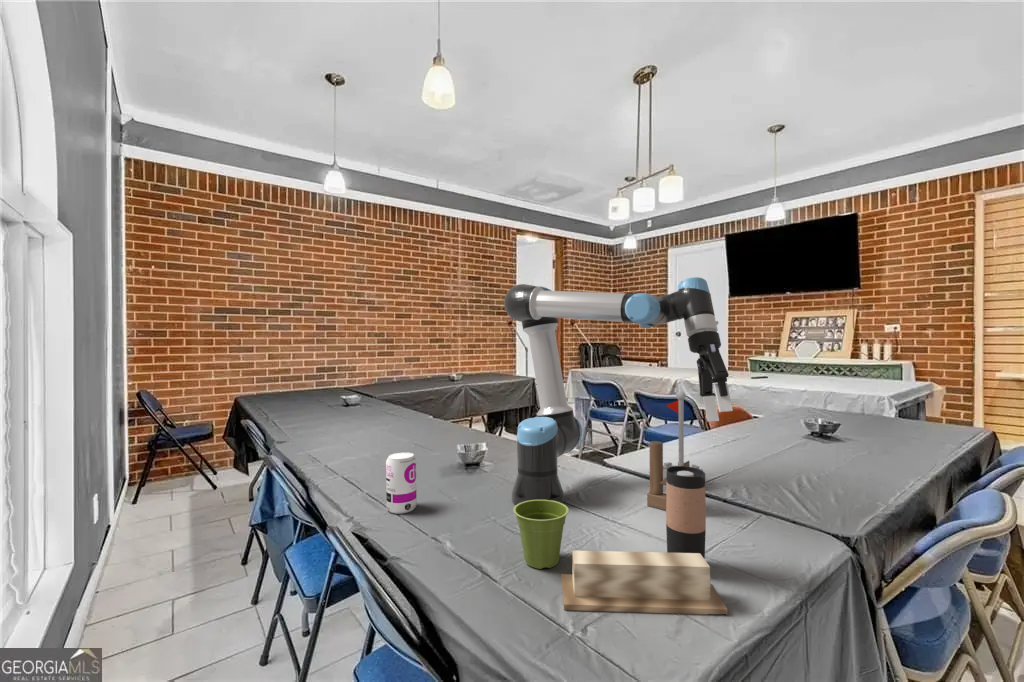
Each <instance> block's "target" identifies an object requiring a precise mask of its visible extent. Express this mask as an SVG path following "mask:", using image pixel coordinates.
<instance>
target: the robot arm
mask: <svg viewBox="0 0 1024 682" xmlns="http://www.w3.org/2000/svg"><path fill="white" fill-rule="evenodd" d="M503 304H504V305H503V306H504V309H505V312H506V313H507V315H508V316H509V317H510V318H511V319H512V320H515V321H517V322H521V327H522V331H523V332H524V333H525V334H527V335H528V340H529V346H530V352H531V358H532V365H533V370H534V375H535V383H536V388H537V393H538V400H539V401H538V402H539V410H538V412H536V416H534V417H529V418H526V419H524V420H521V422H519V423H518V426H517V432H516V441H517V442H516V443H517V446H516V447H517V475H516V478H515V482H514V485H513V488H512V490H511V502H512V504H514V506H516V505H517V504H519V503H521V502H524V501H529V500H552V501H557V502H560V503H562V504H564V502H565V499H564V497H565V496H564V491H563V487H562V484H561V481H560V478H559V475H558V474H559V473H558V458H560V457H561V456H563V455H565V454H568V453H570V452H572V450H573V451H574V449H575V448H576V447H577V446H578V445H579V444H580V442H581V440H582V436H583V428H582V425H581V421H580V420H579V419H577V418H576V416H575V415H574V409H573V408H572V407H571V406H570V405H569V404H568V401H567V396H566V390H565V389H566V388H565V384H564V378H563V372H562V367H561V366H562V365H561V361H560V360H561V359H560V354H559V349H558V343H557V338H556V328H557V327H558V326H559V321H558V319H571V320H572V319H573V320H585V321H587V320H588V321H599V322H600V321H601V322H602V321H603V322H615V323H617V322H618V323H628V324H629V323H630V324H638V325H640V326H641V328H644V329H647V328H654V327H657V326H659V325H660V326H661V325H664V324H667V323H670V322H674V321H678V320H682V319H683V320H684V322H683V323H684V328H685V331H686V336H687V337H688V338H687V343H688V348H689V351H690V352H691V353H694V354H695V353H696V354H698V355H699V356H698V358H697V360H696V365H697V373H698V374H697V375H698V385H699V396H700V397H702V400H703V406H704V409H705V410H704V411H705V415H706V421H707V423H711V422H719V421H720V418H719V413H724V412H733V405H732V401H731V400H732V399H731V396H730V391H729V387H728V383H727V382H728V378H729V375H730V374H729V373H728V370H727V367H726V365H725V362H724V359H723V357H722V355H721V352H720V348H721V347H722V342H721V338H720V333H719V332H718V331H719V330H718V329H719V328H718V325H719V321H718V320H716V315H715V309H714V305H713V301H712V293H710V289H709V285H708V281H707V280H706V279H704V278H703V277H699V276H697V277H696V276H695V277H689V278H686V279H684V280H681V281H680V282H679V283H678V285H677V291H674V292H671V293H669V294H665V295H661V296H656V295H653V294H651V293H647V292H639V293H623V292H622V293H620V292H599V291H598V292H594V291H569V290H566V291H565V290H552V289H549V288H548V287H544V286H537V285H532V284H530V285H529V284H525V283H523V284H522V283H520V284H516V285H514V286H513V287H511V288H510V289H509V290H508V291H507V293H506V294H505V296H504V301H503ZM713 389H714V390H713ZM713 391H714V392H713ZM716 402H717V403H716ZM717 406H718V408H717Z"/></svg>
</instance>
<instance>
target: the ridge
mask: <svg viewBox="0 0 1024 682" xmlns="http://www.w3.org/2000/svg"><path fill="white" fill-rule="evenodd" d="M571 561H572V563H571V564H572V565H571V566H572V574H570V573H566V574H565V573H561V588H562V589H561V590H562V600H563V610H564V611H582V612H583V611H585V612H587V611H588V612H591V611H592V612H616V613H618V612H619V613H620V612H621V613H622V612H623V613H646V614H647V613H650V614H651V613H652V614H653V613H654V614H676V615H677V614H681V615H683V614H684V615H708V614H726V615H725V616H728V608H727V606H726V605H725V604H724V602H723V600H722V598H720V596H719V595H718V593H717V592H716V590H715V589H714V588H713V586H712V584H711V566H710V565H709V563H708V562H707V560H706V558H705V559H704V558H703V557H702V555H701V554H700V553H667V552H665V551H664V552H663V551H662V552H658V551H655V552H654V551H621V550H620V551H619V550H618V551H615V550H614V551H612V550H577V549H575V550H572V560H571Z"/></svg>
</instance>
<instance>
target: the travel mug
mask: <svg viewBox="0 0 1024 682" xmlns="http://www.w3.org/2000/svg"><path fill="white" fill-rule="evenodd" d="M672 466H673V465H672ZM700 469H701V468H699V469H697V468H693V467H692V466H690V467H687V466H678V465H675V466H673V467H669V468H668V469H667V486H666V485H665V486H666V512H665V513H666V514H665V518H666V519H665V524H666V526H665V527H666V528H665V531H666V553H700V554H701V555H702V557H703V558H704V559H705V560H706V534H707V533H706V531H707V530H706V529H707V528H706V527H707V526H706V524H707V522H706V520H707V519H706V518H707V517H706V473H705V471H704V470H703V471H702V470H700Z"/></svg>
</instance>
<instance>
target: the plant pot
mask: <svg viewBox="0 0 1024 682" xmlns="http://www.w3.org/2000/svg"><path fill="white" fill-rule="evenodd" d="M512 511H513V514H514V515H515V516H516V520H517V524H518V528H519V534H520V538H521V540H520V541H521V545H522V546H521V547H522V551H523V557H524V561H525V563H526V565H528V566H529V567H531V568H534V569H540V570H541V569H543V568H548V569H551V568H553V567H555V566H557V565H558V563H559V562H560V561H559V560H560V554H561V546H562V539H563V531H564V526H565V524H566V518H567V515H568V514H569V512H570V509H569V507H568V506H567V504H564V503H560V502H557V501H552V500H529V501H524V502H521V503H519V504H517V505H514V507H513V509H512Z"/></svg>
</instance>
